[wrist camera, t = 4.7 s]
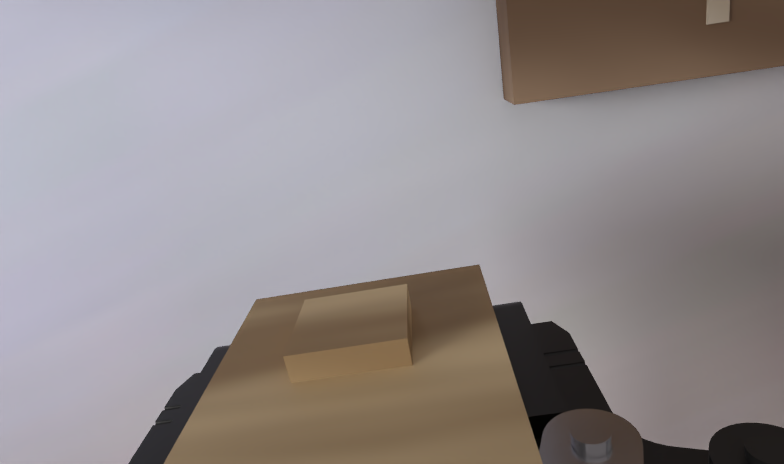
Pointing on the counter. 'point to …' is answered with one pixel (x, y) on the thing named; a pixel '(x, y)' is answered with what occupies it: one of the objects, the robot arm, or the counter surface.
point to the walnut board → (631, 43)
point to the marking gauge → (365, 380)
